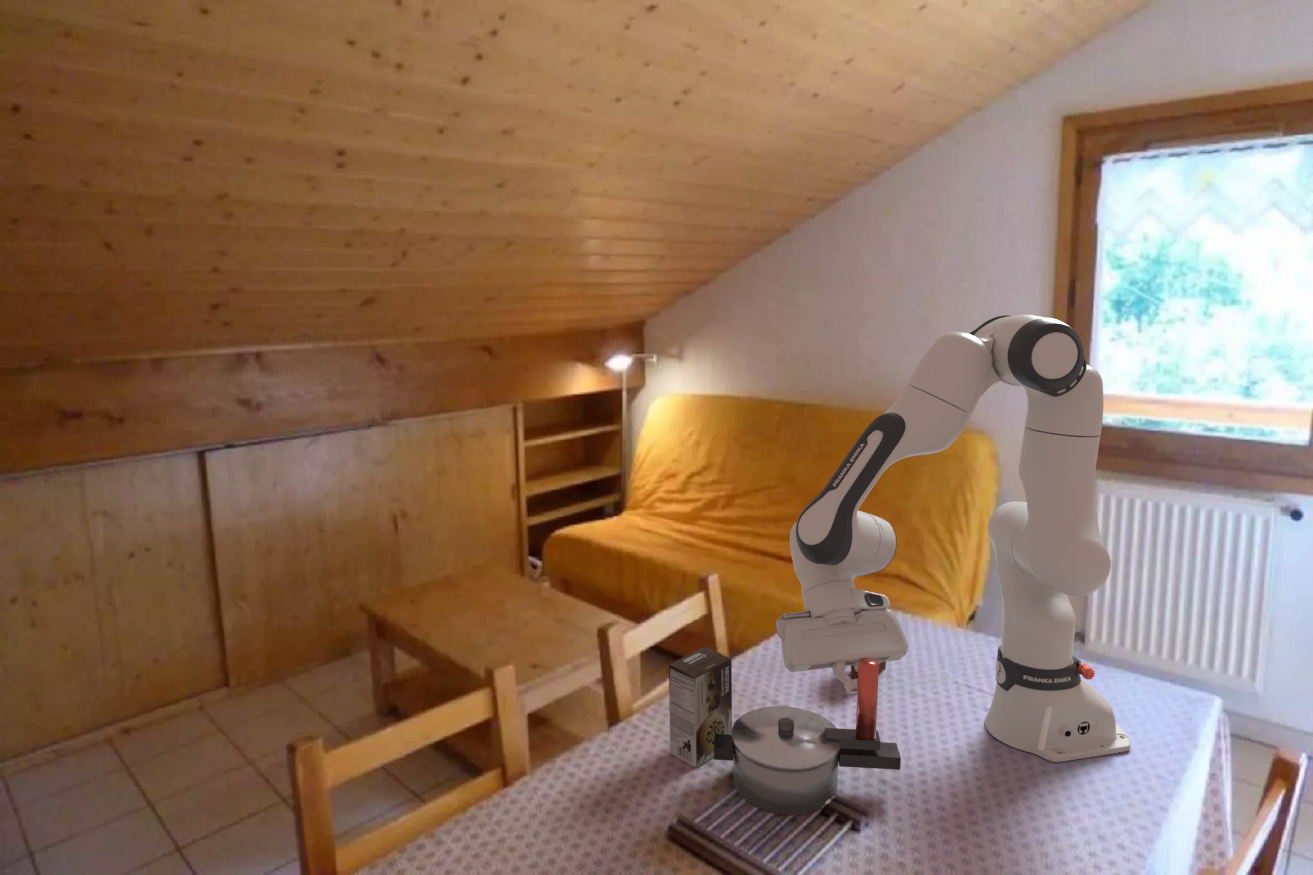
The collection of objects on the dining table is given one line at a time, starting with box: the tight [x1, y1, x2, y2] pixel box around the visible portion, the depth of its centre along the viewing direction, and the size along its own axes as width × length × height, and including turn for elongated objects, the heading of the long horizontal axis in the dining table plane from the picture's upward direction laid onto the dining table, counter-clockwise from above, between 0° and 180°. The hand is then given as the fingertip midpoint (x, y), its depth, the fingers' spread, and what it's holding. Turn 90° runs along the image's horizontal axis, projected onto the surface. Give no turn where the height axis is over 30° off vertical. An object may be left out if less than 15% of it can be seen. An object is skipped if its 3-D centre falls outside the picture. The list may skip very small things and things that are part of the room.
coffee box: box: [668, 646, 733, 769], centre depth 136 cm, size 9×6×16 cm
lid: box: [732, 657, 882, 771], centre depth 125 cm, size 22×17×14 cm
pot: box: [713, 734, 902, 816], centre depth 128 cm, size 28×16×7 cm, turn 84°
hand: (857, 692), depth 128 cm, fingers closed
